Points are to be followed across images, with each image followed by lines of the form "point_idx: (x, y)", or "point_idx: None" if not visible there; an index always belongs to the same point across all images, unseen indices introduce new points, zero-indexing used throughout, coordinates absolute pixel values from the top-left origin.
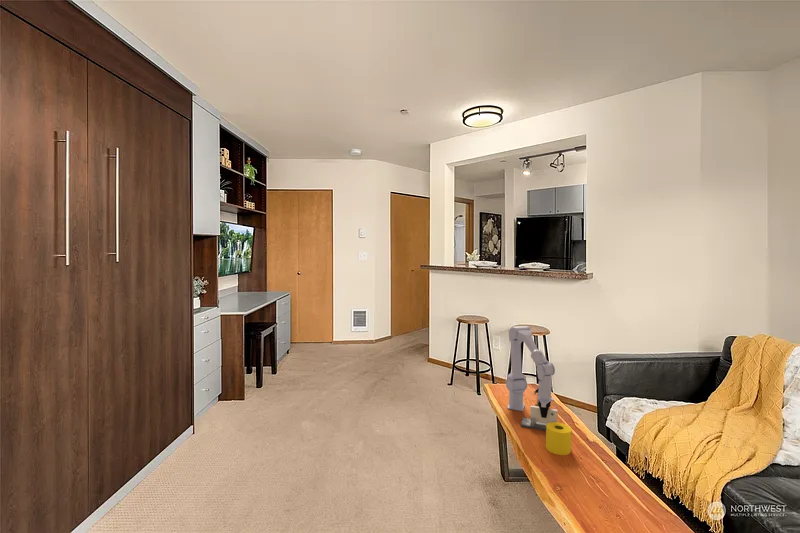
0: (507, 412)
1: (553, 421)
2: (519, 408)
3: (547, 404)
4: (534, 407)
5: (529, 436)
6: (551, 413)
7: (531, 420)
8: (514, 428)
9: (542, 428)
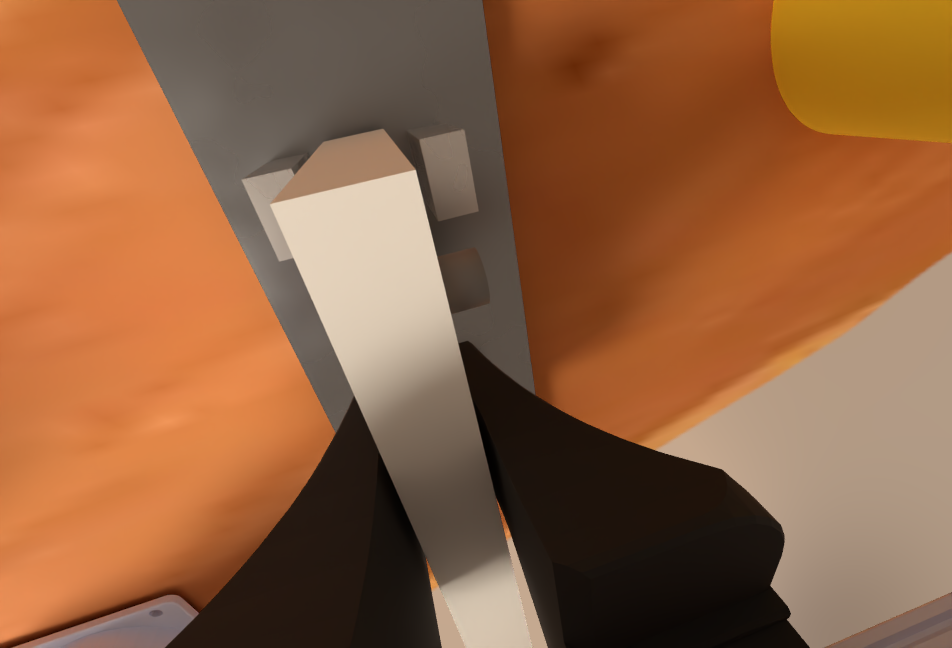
0: None
1: (444, 197)
2: (167, 635)
3: (658, 615)
4: (524, 615)
5: (696, 327)
6: (481, 304)
7: None
8: None
9: (520, 290)
